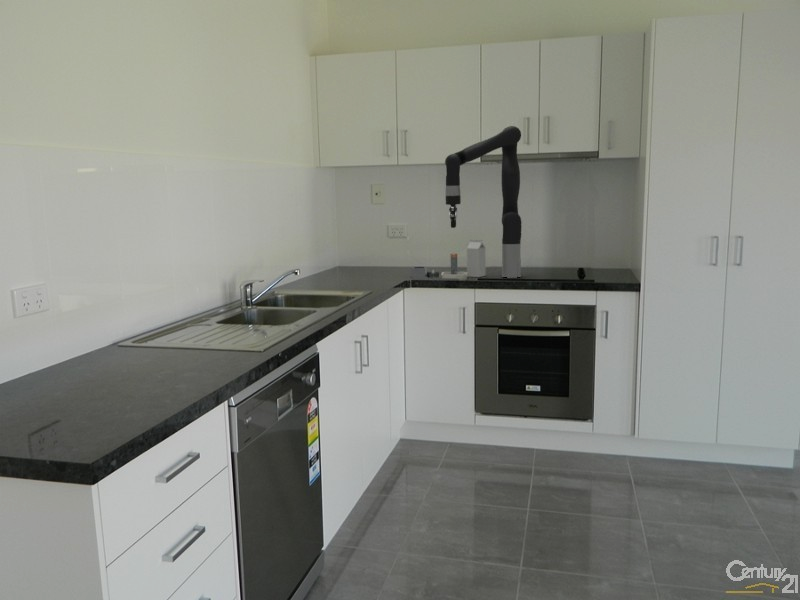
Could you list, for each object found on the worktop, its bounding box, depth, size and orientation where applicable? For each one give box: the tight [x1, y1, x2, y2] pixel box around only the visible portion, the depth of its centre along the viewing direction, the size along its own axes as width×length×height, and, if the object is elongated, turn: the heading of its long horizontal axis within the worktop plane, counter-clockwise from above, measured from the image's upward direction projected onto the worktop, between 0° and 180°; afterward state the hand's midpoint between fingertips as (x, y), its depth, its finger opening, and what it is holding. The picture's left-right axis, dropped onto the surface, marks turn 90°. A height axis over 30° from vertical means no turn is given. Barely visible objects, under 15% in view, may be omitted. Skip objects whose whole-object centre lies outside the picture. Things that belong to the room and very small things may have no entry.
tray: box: [440, 271, 468, 282], centre depth 343 cm, size 13×12×3 cm
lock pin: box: [450, 253, 458, 274], centre depth 342 cm, size 3×3×12 cm
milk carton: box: [466, 239, 486, 278], centre depth 350 cm, size 7×7×19 cm
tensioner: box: [411, 266, 441, 279], centre depth 345 cm, size 14×10×6 cm
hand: (453, 227), depth 339 cm, fingers open, 8 cm apart
